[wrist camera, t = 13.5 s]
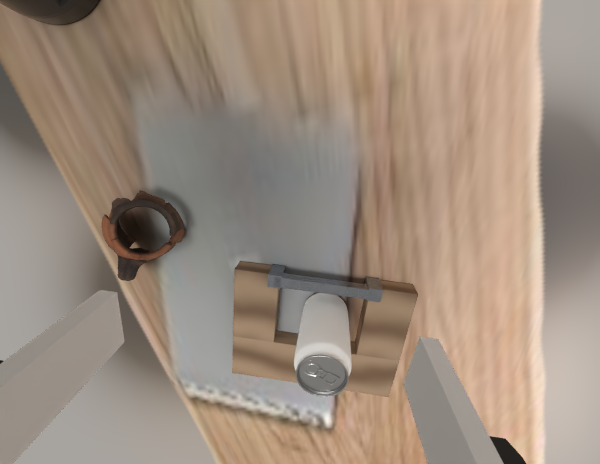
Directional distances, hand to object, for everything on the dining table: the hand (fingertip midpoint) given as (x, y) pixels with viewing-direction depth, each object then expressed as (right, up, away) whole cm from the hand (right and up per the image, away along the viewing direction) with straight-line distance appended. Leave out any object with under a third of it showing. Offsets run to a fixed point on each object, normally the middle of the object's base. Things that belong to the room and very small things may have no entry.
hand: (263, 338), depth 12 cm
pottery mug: (-19, +5, +27) cm, 34 cm away
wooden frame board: (+4, -8, +30) cm, 31 cm away
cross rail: (+5, -2, +27) cm, 28 cm away
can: (+5, -7, +29) cm, 30 cm away
